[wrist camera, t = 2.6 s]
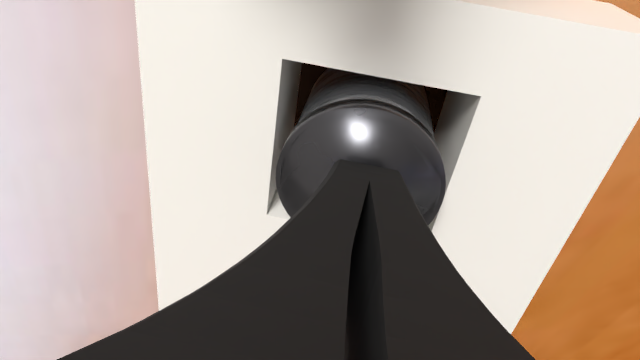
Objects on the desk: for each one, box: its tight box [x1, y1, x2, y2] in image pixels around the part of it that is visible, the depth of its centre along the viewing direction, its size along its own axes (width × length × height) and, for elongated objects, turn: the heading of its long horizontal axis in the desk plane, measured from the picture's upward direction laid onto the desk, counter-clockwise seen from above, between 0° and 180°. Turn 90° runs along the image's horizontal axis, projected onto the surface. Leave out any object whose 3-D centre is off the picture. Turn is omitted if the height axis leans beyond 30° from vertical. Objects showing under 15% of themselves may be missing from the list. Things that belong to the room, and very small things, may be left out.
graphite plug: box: [276, 68, 446, 225], centre depth 12 cm, size 4×4×4 cm
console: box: [135, 0, 640, 334], centre depth 15 cm, size 11×16×4 cm
